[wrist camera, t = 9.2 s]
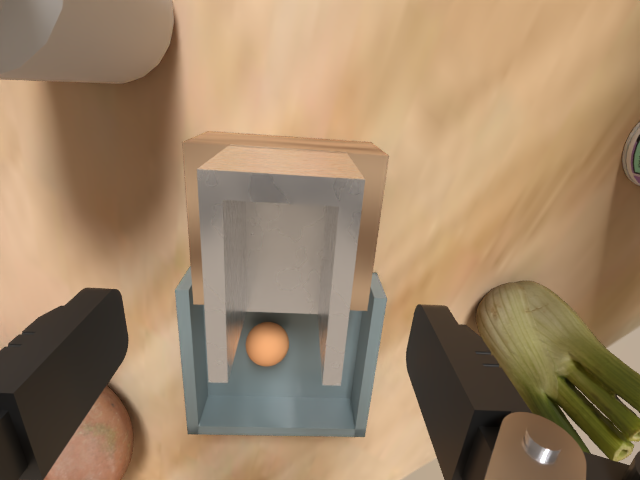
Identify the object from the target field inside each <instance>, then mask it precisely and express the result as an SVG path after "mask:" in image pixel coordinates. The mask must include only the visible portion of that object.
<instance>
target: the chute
mask: <svg viewBox="0 0 640 480" xmlns="http://www.w3.org/2000/svg"><path fill="white" fill-rule="evenodd" d="M197 182H198V200H199V218H200V237H201V255H202V273H203V291H204V309H205V327H206V346H207V364H208V382H211V383H228V380H229V376H230V372H231V369H232V365H233V361H234V357H235V353H236V349H237V346H238V342H239V338H240V334H241V330H242V326H243V322H244V319H245V315H246V311H247V312H274V313H301V314H318V326H319V342H320V358H321V374H322V385H332V386H341V379H342V371H343V362H344V354H345V346H346V337H347V329H348V321H349V312H350V304H351V295H352V287H353V279H354V270H355V262H356V253H357V245H358V237H359V228H360V220H361V211H362V203H363V195H364V186H365V178H364V177H363V175H362V174H361V173H360V171H359V170H358V168H357V167H356V165H355V164H354V162H353V161H352V160H351V158H350V157H349V155H348V154H347V152H339V151H324V150H309V149H294V148H279V147H264V146H249V145H234V144H230V145H229V146H227V147H226V148H225V149H223V150H222V151H221V152H219V153H218V154H217V155H215V156H214V157H213V158H211V159H210V160H208V161H207V162H206V163H204V164H203V165H202V166H200V167H199V168H198V169H197Z"/></svg>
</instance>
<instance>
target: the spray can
mask: <svg viewBox="0 0 640 480" xmlns="http://www.w3.org/2000/svg"><path fill="white" fill-rule="evenodd" d="M622 162H623V169H624V171H625V174H626V175H627V177H628V178H629V180H631V181H632V182H633V183H634V184H636V185H639V186H640V122H639V123H638V124H637V125H636V126H635V127H634V129H633V130H632V132H631V133H630V135H629V137H628V139H627V141H626V143H625V147H624V150H623V157H622Z"/></svg>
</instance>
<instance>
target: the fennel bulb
mask: <svg viewBox="0 0 640 480" xmlns="http://www.w3.org/2000/svg"><path fill="white" fill-rule="evenodd" d="M476 323H477V327H478V331H479V333H480V336H481V338H482V339H483V341H484V342H485V344H486V345H487V347H488V348H489V350H490V351H491V355H493V356H494V357H495V358H496V360H497V361H498V363H499V367H502V369H503V370H504V372H505V373H506V375H507V376H508V378H509V379H510V381H511V382H512V384H513V385H514V387H515V388H516V390H517V391H518V393H519V394H520V396H521V397H522V398H523V400H524V401H525V403H526V404H527V406H528V407H529V409H530V410H531V412H532V413H533V414H536V415H539V416H542V417H544V418H546V419H548V420H550V421H552V422H554V423H555V424H557V425H558V426H560V427H561V428H562V429H564V430H565V431H566V432H567V433H568V434H569V435H570V436H572V438H573V439H574V440H575V441H576V442H577V443H578V445H579V446H580V448H581V449H582V451H584V452H587V453H590V452H589V450H588V448H587V447H586V445H585V444H584V442H583V441H582V439H581V438H580V436H579V435H578V433H577V432H576V430H574V429H573V427H572V425H571V424H570V422H569V421H568V420H567V418H566V416H565V415H564V413H563V412H562V410H561V409H560V407H561V408H563V410H564V411H565V412H566V413H567V415H568V416H569V417H570V418H571V419H572V420H573V421H574V422H575V423H576V424H577V425H578V426H579V427H580V428H581V429H582V430H583V431H584V432H585V433H586V434H587V435H588V436H589V438H590V439H591V440H592V441H593V442H594V443H595V444H596V445H597V446H598V447H599V449H600V450H601V451H602V452H603V453H604V454H605V455H606V456H607V457H608V458H609V459H610V460H613V461H617V462H618V461H620V460H623V459H625V458H626V457H627V456H629V455H630V454H631V452H632V451H633V448H634V445H633V444H632V443H631V442H630V441H640V418H639V417H637V415H636V414H635V413H634V412H633V411H632V410H630V409H629V408H628V407H626V405H624V404H623V403H622V402H621V401H620V399H619V398H618V397H617V395H618V396H620V397H621V398H622V399H624V400H625V401H626V402H628V403H629V404H630V405H631V406H632V407H633V408H635V409H636V410H638V411H639V413H640V375H639V374H638V373H637V372H635V371H634V370H632V369H631V368H630V367H629V366H627V365H626V364H625V363H623V362H622V361H621V360H620V359H618V358H617V357H616V356H615V355H613V354H612V353H611V352H610V351H608V350H607V349H606V348H605V346H603V345H602V344H601V343H600V342H599V341H598V340H597V338H596V337H595V336H594V335H593V333H592V332H591V331H590V330H589V329H588V328H587V326H586V325H585V323H584V322H583V321H582V320H581V318H580V317H579V316H578V315H577V313H576V312H575V311H574V310H573V309H572V308H571V307H570V306H569V305H568V304H567V303H566V302H565V301H563V300H562V299H561V298H560V297H559V296H558V295H556V294H555V293H554V292H552V291H551V290H550V289H548V288H546V287H545V286H543V285H540V284H539V283H536V282H533V281H519V282H515V283H506V284H502V285H500V286H497V287H496V288H493V289H492V290H490V291H489V292H488V293H487V294H486V295H485V296H484V298H483V299H482V300H481V302H480V303H479V305H478V308H477V312H476ZM575 386H576V387H577V388H578V389H579V390H580V391H581V392H582V393H583V394H584V395H585V396H586V397H587V398H588V399H589V400H590V401H591V402H592V403H593V404H595V405H596V407H597V408H598V409H600V411H601V412H602V413H604V414H605V415H606V416H607V417H608V418H609V419H610V420H611V421H610V420H609V419H608V418H606V417H605V416H604V415H603V414H602V413H601V412H600V411H599V410H598V409H597V408H595V406H593V404H592V403H590V402H589V401H588V400H587V399H586V398H585V396H584V395H583V394H582V393H581V392H580V391H579V390H577V388H576V387H575ZM558 405H559V406H560V407H559V406H558ZM614 425H615V426H616V427H617V428H618V429H617V428H616V427H615V426H614ZM619 430H620V431H621V432H620V431H619ZM590 454H591V453H590Z"/></svg>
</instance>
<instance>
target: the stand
mask: <svg viewBox="0 0 640 480" xmlns="http://www.w3.org/2000/svg"><path fill="white" fill-rule="evenodd" d="M230 144H234V145H249V146H264V147H279V148H294V149H309V150H324V151H339V152H347V154H348V155H349V157H350V158H351V160H352V161H353V162H354V164H355V165H356V167H357V168H358V170H359V171H360V173H361V174H362V175H363V177H364V178H365V186H364V195H363V203H362V211H361V220H360V228H359V237H358V245H357V253H356V262H355V270H354V279H353V287H352V295H351V304H350V310H356V311H367V309H368V302H369V294H370V287H371V280H372V273H373V266H374V259H375V252H376V244H377V237H378V230H379V223H380V216H381V209H382V201H383V194H384V187H385V180H386V173H387V166H388V159H389V156H388V155H387V154H386V153H385V152H383V151H382V150H381V149H379V148H378V147H377V146H375V145H374V144H373V143H372V142H357V141H342V140H328V139H313V138H298V137H284V136H269V135H255V134H240V133H225V132H211V131H207V132H205V133H203V134H200V135H198V136H196V137H193V138H191V139H189V140H186V141H184V142H182V145H183V159H184V174H185V189H186V203H187V218H188V233H189V247H190V262H191V277H192V291H193V304H198V305H204V291H203V273H202V255H201V237H200V218H199V200H198V182H197V169H198V168H199V167H200V166H202V165H203V164H204V163H206V162H207V161H208V160H210V159H211V158H213V157H214V156H215V155H217V154H218V153H219V152H221V151H222V150H223V149H225V148H226V147H227V146H229V145H230Z"/></svg>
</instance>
